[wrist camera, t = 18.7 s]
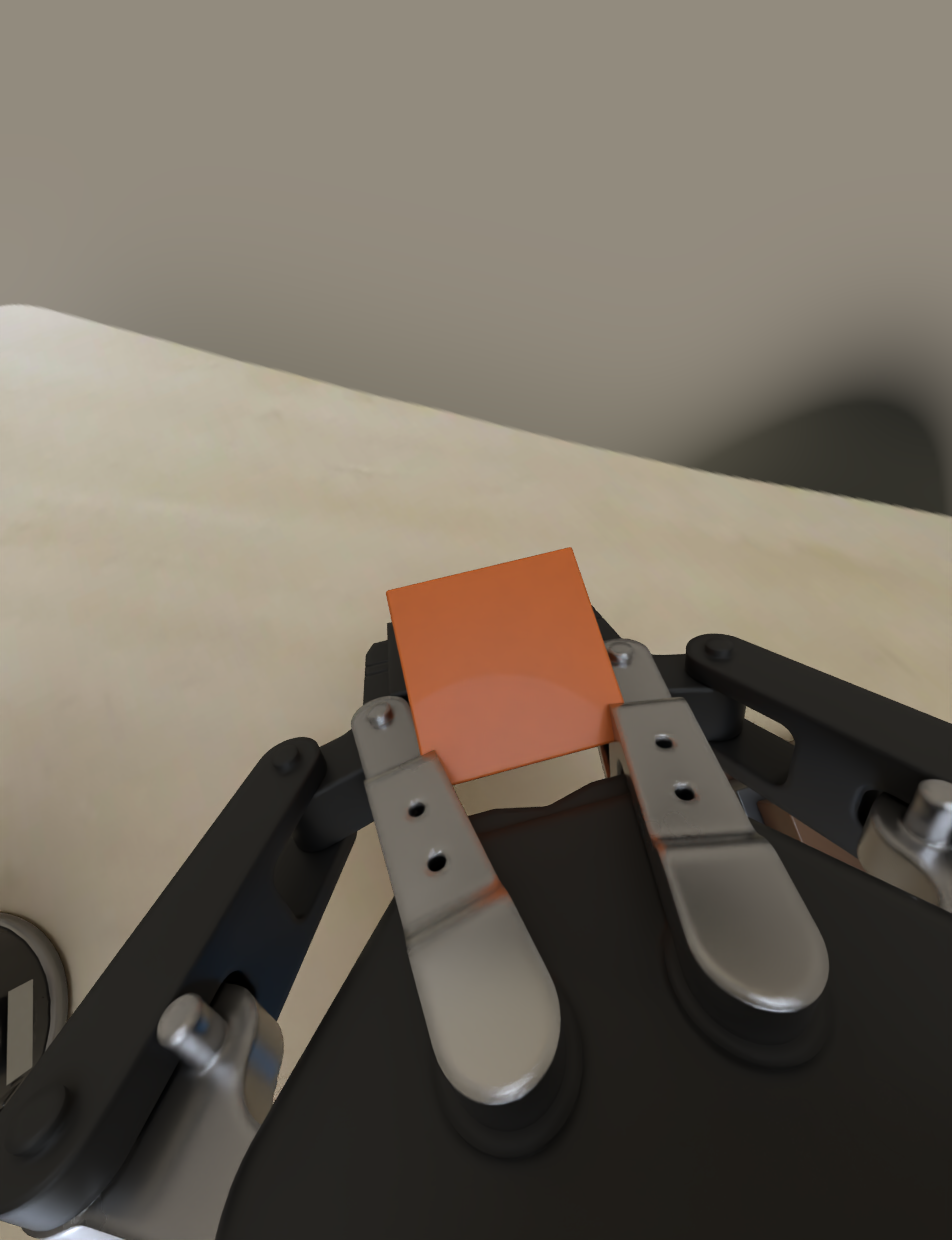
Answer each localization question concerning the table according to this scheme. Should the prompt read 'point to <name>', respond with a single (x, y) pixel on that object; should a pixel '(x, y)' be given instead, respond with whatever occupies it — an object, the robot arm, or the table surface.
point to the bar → (504, 665)
